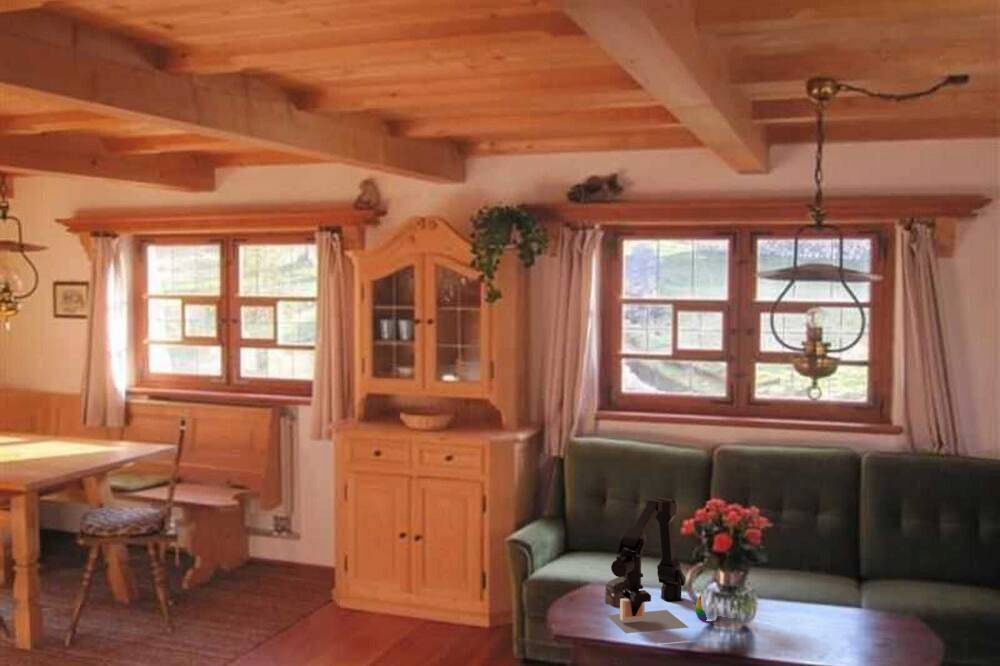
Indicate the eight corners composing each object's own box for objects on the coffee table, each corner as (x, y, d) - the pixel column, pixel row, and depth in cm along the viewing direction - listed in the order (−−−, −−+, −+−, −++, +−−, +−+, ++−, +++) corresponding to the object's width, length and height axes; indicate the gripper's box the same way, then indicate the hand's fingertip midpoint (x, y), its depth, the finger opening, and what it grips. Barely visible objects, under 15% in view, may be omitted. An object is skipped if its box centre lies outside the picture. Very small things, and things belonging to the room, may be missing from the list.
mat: (666, 610, 346) (666, 609, 346) (688, 628, 329) (688, 627, 329) (606, 616, 341) (606, 615, 341) (625, 634, 323) (625, 633, 323)
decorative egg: (697, 614, 342) (697, 587, 342) (720, 617, 340) (721, 589, 339) (694, 622, 335) (694, 594, 334) (717, 625, 332) (718, 596, 331)
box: (604, 603, 355) (605, 583, 354) (618, 601, 357) (619, 581, 357) (613, 608, 349) (613, 588, 349) (627, 606, 352) (628, 586, 351)
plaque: (641, 616, 336) (641, 596, 335) (644, 619, 333) (644, 599, 333) (619, 618, 334) (620, 598, 333) (622, 621, 331) (623, 601, 331)
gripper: (601, 563, 339) (600, 607, 340) (620, 579, 321) (620, 625, 322) (630, 561, 342) (630, 604, 343) (651, 577, 324) (651, 622, 325)
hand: (632, 614), depth 333 cm, fingers closed on plaque, 3 cm apart
